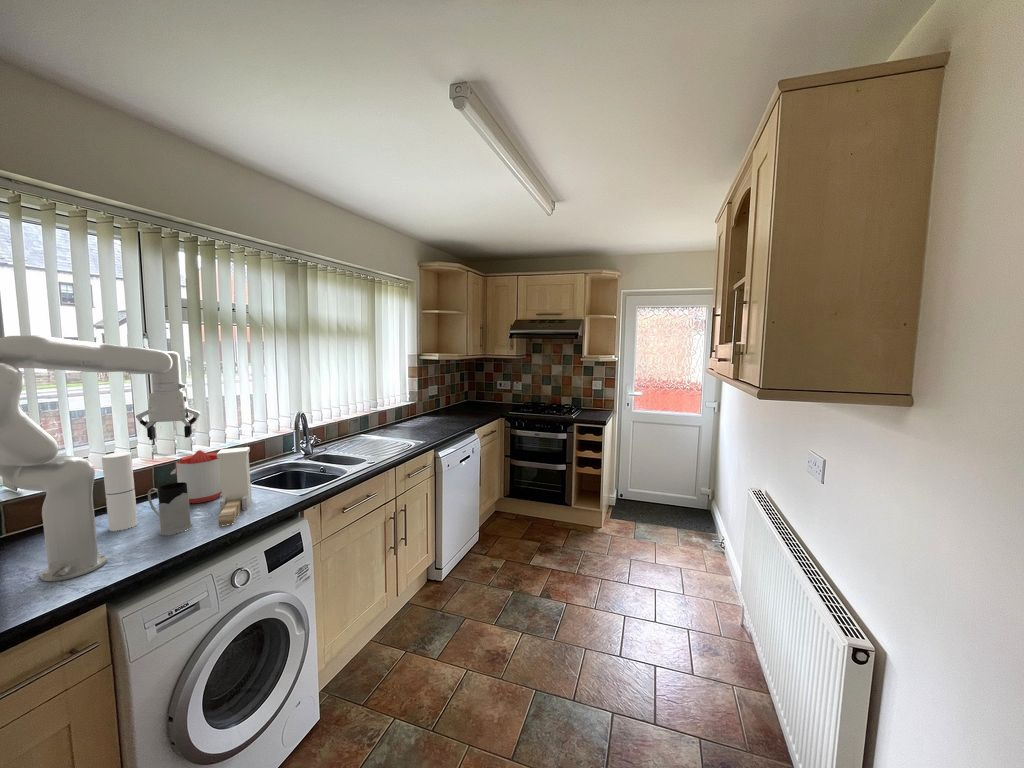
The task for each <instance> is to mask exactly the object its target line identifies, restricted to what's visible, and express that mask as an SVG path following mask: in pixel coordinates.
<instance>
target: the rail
mask: <svg viewBox="0 0 1024 768" xmlns="http://www.w3.org/2000/svg"><path fill="white" fill-rule="evenodd" d="M242 510H243V508H242V500H241V499H235V500H229V501H228V502H227V504H226V505H225V507H224V508H223V510H222V511H221V513H219V514H218V517H217V518H218V527H219V526H221V527H223V526H222V525H227V524H232V523H234V524H235V522H236V520H237V519H238V517H239V515H240V513H241V511H242ZM239 512H240V513H239ZM238 514H239V515H238ZM237 516H238V517H237ZM236 518H237V519H236ZM235 519H236V520H235ZM234 521H235V522H234Z"/></svg>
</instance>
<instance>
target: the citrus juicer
mask: <svg viewBox="0 0 1024 768" xmlns="http://www.w3.org/2000/svg"><path fill="white" fill-rule="evenodd" d="M217 453H218V452H205V451H202V450H197V451H196V452H195V453H194V454H191V455H187V456H183V457H181V458H179V462H176V461H175V462H174V464H175V466H174V467H175V468H174V469H173V470H172V471H171V472H170V475H175V476H176V477H177V478H176V479H177V480H176V481H177V482H176V483H178V482H185V483H187V492H188V496H189V503H192V504H200V503H205V502H211V501H214V500H216V499H218V498H220V497H221V496H222V490H221V477H220V463H219V458H217Z"/></svg>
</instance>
